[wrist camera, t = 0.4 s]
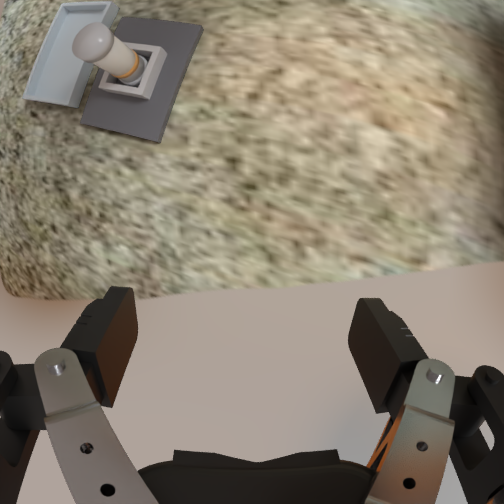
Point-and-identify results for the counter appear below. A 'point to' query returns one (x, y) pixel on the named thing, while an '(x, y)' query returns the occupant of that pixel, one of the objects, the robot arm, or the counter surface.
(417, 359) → the robot arm
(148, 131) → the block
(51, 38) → the tray
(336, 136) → the counter surface
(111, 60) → the white bottle
